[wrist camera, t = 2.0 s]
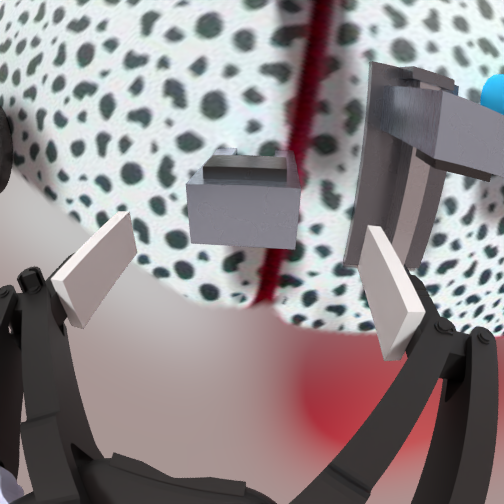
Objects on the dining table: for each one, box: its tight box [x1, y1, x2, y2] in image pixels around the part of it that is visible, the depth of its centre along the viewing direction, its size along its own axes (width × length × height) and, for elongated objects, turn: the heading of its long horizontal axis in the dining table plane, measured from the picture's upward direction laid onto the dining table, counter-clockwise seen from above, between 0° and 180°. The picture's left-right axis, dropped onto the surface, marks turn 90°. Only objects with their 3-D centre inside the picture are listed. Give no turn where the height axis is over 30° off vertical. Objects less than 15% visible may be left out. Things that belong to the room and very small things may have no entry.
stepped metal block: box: [186, 148, 301, 249], centre depth 21 cm, size 7×5×10 cm
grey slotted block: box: [343, 61, 504, 275], centre depth 20 cm, size 9×20×11 cm, turn 179°
